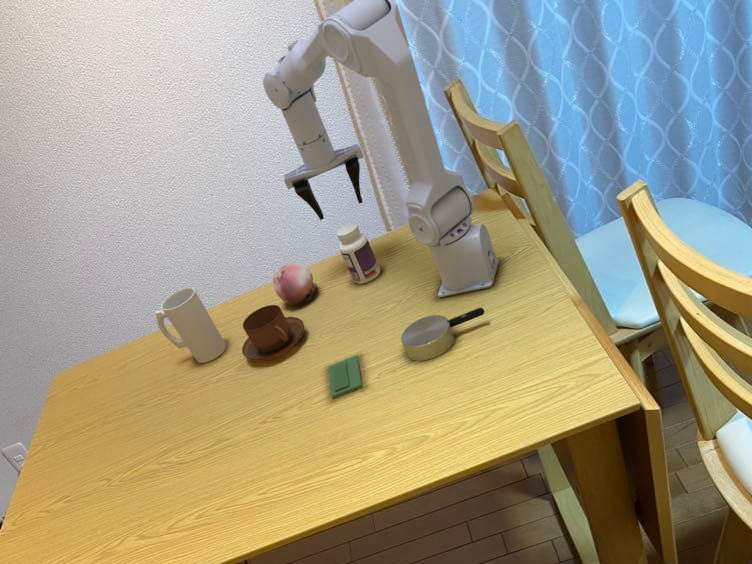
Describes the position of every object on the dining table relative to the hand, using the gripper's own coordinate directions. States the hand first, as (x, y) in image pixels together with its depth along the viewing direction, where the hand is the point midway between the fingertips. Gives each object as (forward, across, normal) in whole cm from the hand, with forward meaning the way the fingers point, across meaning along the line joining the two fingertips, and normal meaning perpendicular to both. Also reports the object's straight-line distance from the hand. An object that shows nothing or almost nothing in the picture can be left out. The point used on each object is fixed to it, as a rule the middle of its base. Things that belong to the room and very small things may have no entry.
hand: (341, 209), depth 157 cm
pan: (+10, -11, +38) cm, 41 cm away
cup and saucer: (+11, +18, +19) cm, 29 cm away
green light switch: (+10, +7, +38) cm, 40 cm away
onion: (+11, +13, +5) cm, 18 cm away
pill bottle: (+11, 0, +7) cm, 13 cm away
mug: (+11, +34, +11) cm, 37 cm away
